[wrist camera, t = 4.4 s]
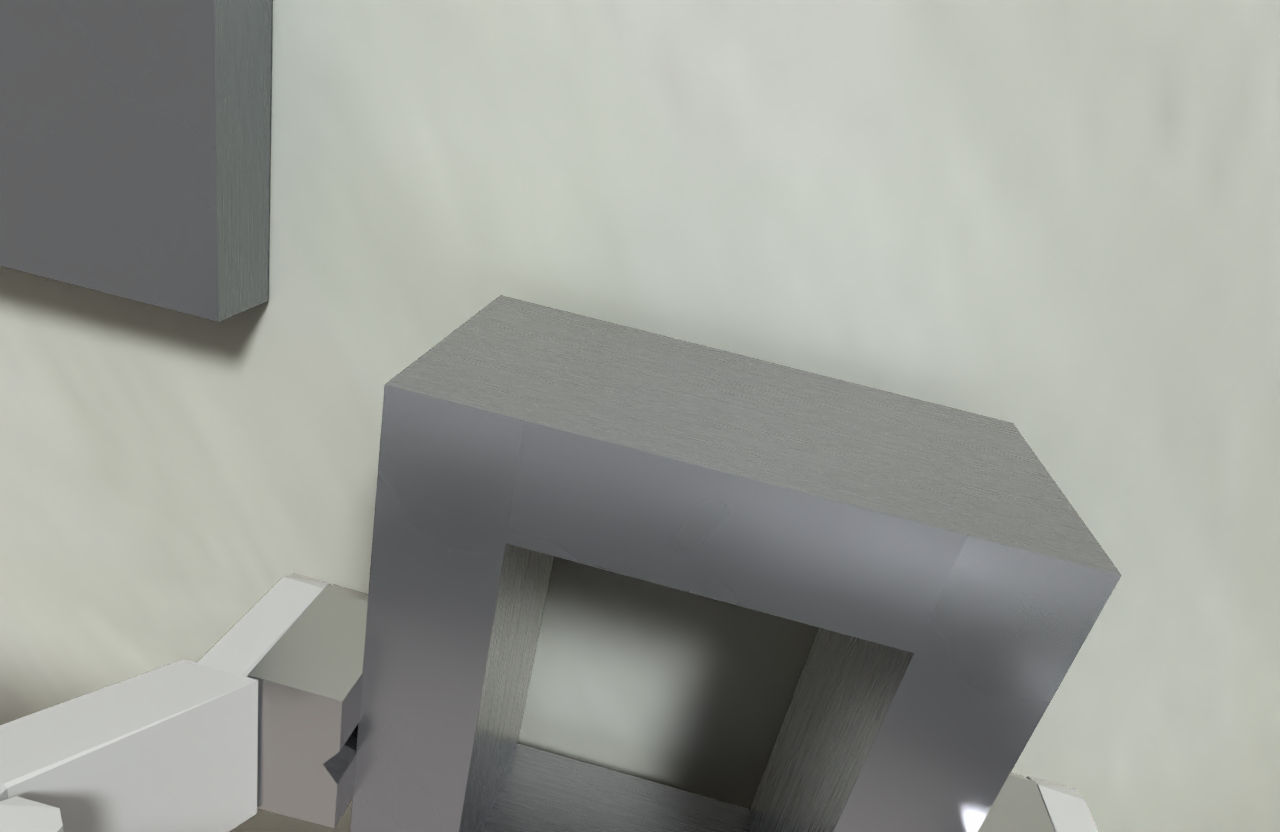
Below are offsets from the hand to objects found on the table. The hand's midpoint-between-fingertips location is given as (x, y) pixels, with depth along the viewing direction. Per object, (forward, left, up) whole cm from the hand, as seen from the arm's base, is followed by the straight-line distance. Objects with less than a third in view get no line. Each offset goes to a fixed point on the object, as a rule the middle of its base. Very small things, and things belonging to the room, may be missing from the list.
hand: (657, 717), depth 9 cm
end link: (0, 0, -2) cm, 2 cm away
